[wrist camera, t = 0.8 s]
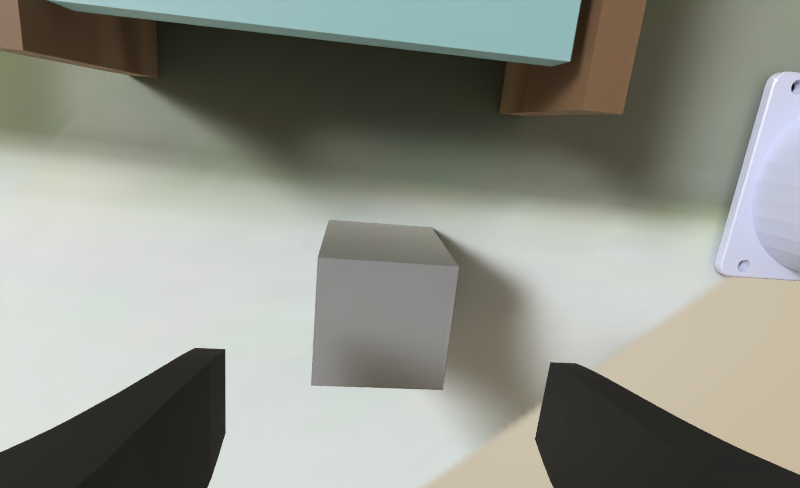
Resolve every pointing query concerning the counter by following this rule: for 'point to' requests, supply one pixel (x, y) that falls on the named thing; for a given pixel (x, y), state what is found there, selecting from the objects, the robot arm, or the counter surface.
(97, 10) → the trapdoor flap
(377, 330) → the slate block
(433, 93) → the counter surface
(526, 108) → the stand
